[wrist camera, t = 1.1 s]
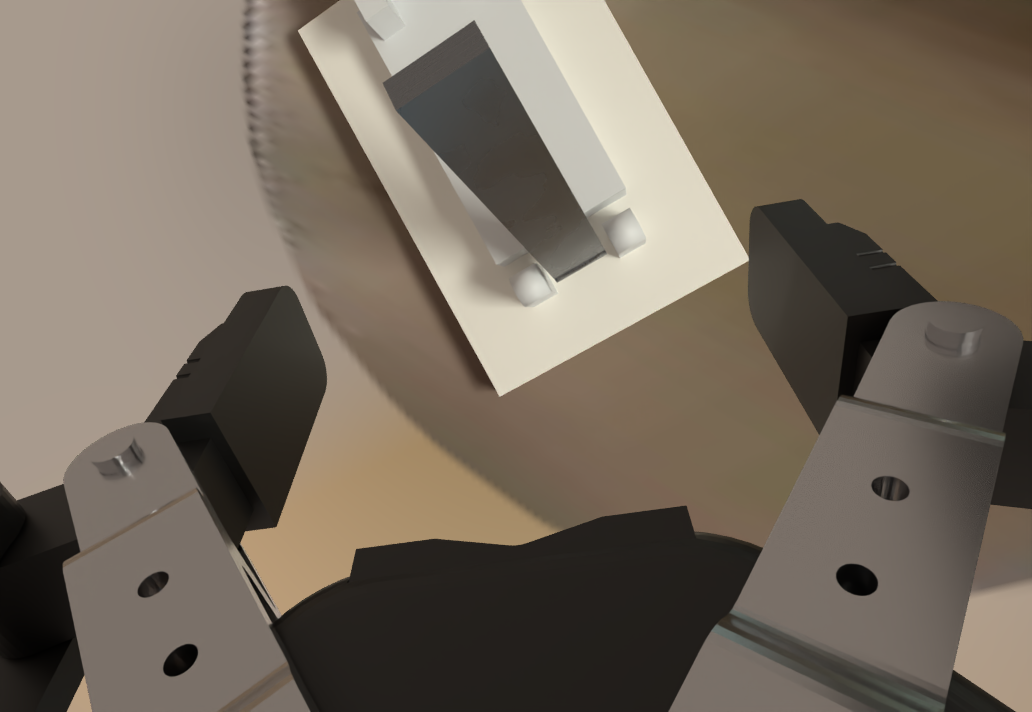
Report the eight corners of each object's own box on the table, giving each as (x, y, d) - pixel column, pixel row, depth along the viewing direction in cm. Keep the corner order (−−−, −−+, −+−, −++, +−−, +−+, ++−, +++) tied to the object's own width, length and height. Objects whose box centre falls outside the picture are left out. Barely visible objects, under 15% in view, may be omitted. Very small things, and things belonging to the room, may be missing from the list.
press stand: (533, -114, 38) (511, -201, 32) (744, 262, 38) (767, 253, 31) (313, 43, 42) (252, -6, 35) (506, 392, 41) (481, 409, 34)
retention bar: (472, 17, 18) (491, 50, 17) (598, 238, 35) (608, 257, 35) (381, 80, 18) (397, 113, 18) (549, 266, 36) (559, 285, 35)
